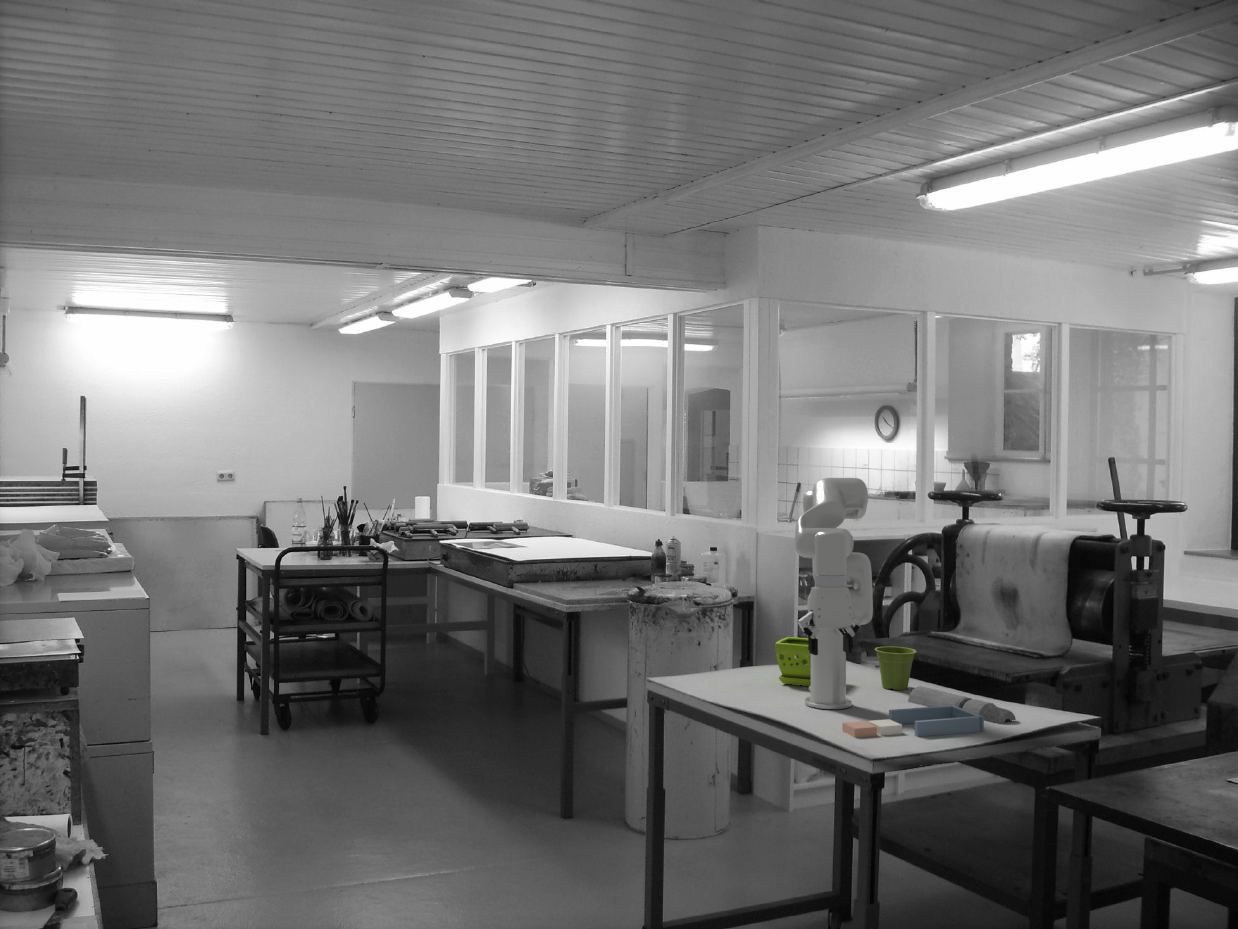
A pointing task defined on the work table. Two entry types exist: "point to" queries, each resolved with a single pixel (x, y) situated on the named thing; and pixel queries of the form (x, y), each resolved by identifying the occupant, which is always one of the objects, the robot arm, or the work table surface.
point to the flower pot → (794, 661)
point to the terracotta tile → (859, 729)
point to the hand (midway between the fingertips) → (830, 653)
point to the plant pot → (895, 666)
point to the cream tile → (887, 727)
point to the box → (938, 720)
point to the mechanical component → (960, 704)
